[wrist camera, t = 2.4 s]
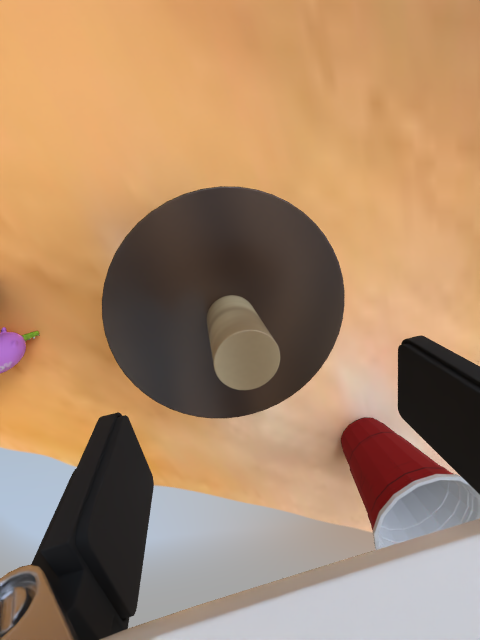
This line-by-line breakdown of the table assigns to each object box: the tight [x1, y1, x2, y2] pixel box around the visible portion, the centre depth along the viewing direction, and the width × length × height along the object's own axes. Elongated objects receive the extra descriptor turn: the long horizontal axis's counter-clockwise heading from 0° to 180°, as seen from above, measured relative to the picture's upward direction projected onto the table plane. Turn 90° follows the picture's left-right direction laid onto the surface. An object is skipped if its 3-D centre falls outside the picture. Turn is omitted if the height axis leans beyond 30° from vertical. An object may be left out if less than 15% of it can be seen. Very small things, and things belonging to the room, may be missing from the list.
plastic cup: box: [341, 418, 480, 550], centre depth 32 cm, size 11×11×12 cm
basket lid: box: [102, 187, 344, 418], centre depth 16 cm, size 15×15×7 cm
